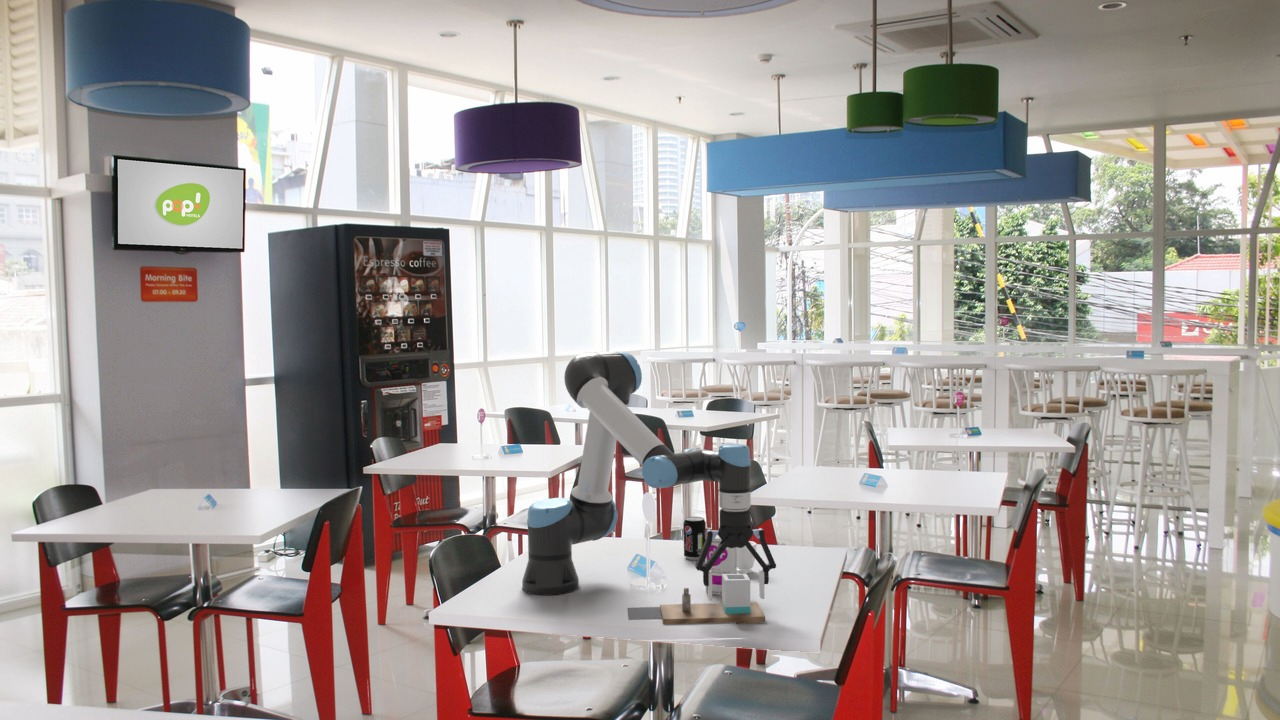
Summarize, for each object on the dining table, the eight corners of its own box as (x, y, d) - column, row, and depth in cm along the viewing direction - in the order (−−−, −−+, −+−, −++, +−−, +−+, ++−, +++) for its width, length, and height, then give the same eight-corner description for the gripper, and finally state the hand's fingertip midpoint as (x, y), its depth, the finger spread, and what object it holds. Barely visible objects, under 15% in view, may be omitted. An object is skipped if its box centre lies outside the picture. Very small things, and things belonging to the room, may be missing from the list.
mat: (628, 621, 233) (628, 619, 233) (627, 609, 243) (627, 607, 243) (670, 620, 234) (670, 618, 234) (667, 608, 244) (667, 606, 244)
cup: (755, 575, 275) (755, 546, 275) (720, 573, 277) (719, 545, 277) (758, 568, 282) (758, 541, 282) (723, 567, 284) (723, 539, 284)
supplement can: (728, 598, 252) (727, 540, 251) (699, 594, 256) (699, 537, 256) (742, 591, 259) (741, 534, 258) (714, 587, 263) (713, 531, 262)
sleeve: (725, 613, 233) (725, 580, 233) (722, 606, 239) (721, 574, 239) (750, 613, 233) (750, 579, 233) (746, 606, 239) (746, 573, 239)
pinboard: (663, 625, 230) (662, 595, 229) (660, 610, 242) (659, 582, 241) (765, 622, 231) (765, 593, 230) (757, 608, 243) (756, 580, 242)
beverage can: (706, 560, 293) (706, 520, 292) (684, 560, 293) (683, 520, 292) (705, 555, 299) (705, 516, 299) (683, 555, 300) (683, 516, 299)
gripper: (686, 512, 231) (687, 603, 232) (788, 510, 232) (788, 601, 233) (683, 506, 239) (684, 595, 239) (782, 504, 240) (782, 592, 241)
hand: (736, 598), depth 236 cm, fingers open, 12 cm apart
